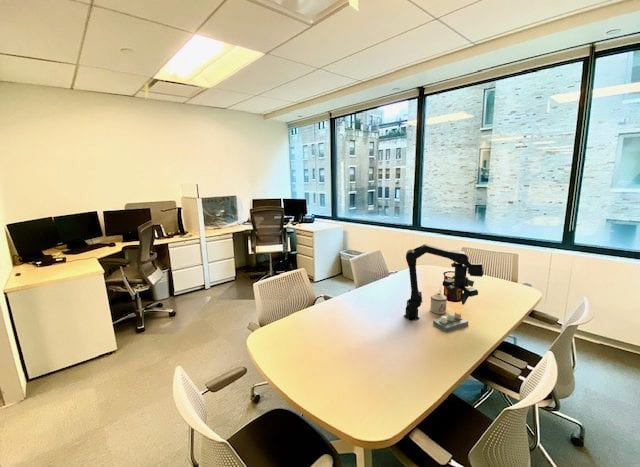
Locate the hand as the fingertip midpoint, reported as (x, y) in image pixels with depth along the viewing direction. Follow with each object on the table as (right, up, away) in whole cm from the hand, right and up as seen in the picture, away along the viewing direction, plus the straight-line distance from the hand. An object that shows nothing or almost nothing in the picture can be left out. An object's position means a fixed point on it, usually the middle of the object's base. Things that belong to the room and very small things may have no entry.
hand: (458, 302), depth 160 cm
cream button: (-9, -11, -2) cm, 14 cm away
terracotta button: (0, -10, +2) cm, 10 cm away
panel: (-4, -12, 0) cm, 13 cm away
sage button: (-4, -10, 0) cm, 11 cm away
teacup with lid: (-3, -9, +18) cm, 20 cm away
